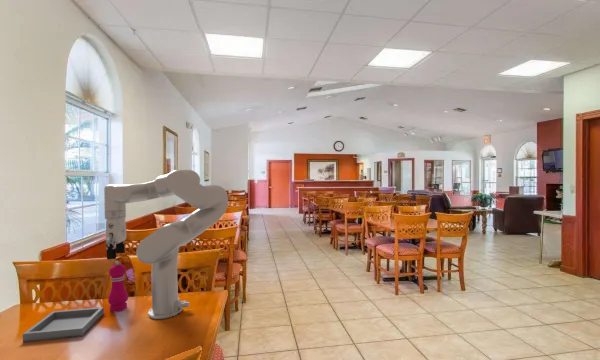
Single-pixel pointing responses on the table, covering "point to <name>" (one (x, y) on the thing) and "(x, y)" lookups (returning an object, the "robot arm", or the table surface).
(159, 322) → the table surface
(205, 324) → the table surface
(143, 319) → the table surface
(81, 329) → the serving tray
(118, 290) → the pepper mill
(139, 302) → the table surface
